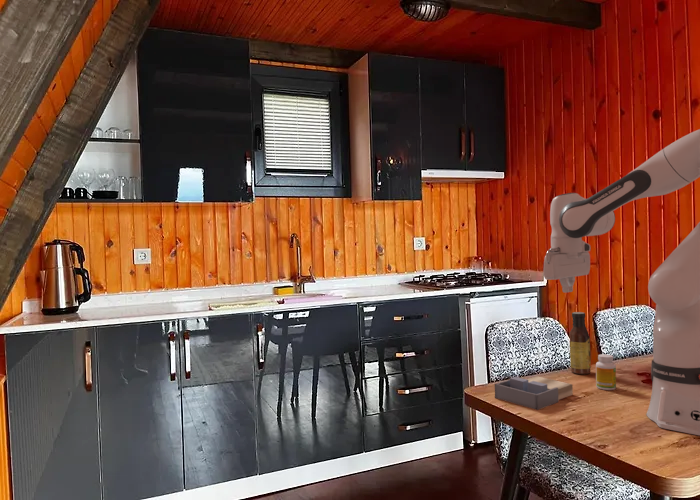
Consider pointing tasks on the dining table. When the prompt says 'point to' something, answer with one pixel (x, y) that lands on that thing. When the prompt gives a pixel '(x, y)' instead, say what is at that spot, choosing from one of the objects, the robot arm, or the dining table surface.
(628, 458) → the dining table surface
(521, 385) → the tile
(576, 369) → the sauce bottle
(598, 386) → the supplement bottle
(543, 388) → the tile
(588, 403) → the dining table surface
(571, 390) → the board
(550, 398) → the tray
